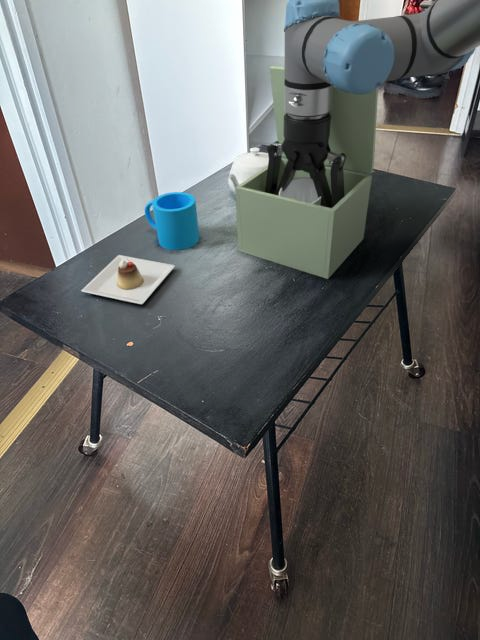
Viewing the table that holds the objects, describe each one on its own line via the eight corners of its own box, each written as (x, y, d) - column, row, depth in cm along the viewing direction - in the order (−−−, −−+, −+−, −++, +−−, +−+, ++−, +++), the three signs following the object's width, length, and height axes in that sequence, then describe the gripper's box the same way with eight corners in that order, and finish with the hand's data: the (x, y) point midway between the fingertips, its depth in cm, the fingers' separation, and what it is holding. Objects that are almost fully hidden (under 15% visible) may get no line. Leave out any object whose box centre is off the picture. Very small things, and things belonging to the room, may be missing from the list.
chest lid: (377, 78, 71) (391, 61, 73) (269, 67, 79) (286, 52, 82) (371, 174, 83) (384, 156, 86) (279, 155, 91) (293, 140, 94)
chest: (328, 279, 82) (334, 211, 74) (238, 251, 90) (235, 187, 82) (363, 239, 92) (372, 175, 83) (279, 217, 100) (280, 157, 92)
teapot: (256, 217, 100) (254, 171, 94) (207, 205, 106) (203, 160, 99) (298, 182, 113) (299, 138, 106) (253, 172, 118) (252, 131, 112)
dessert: (176, 270, 86) (172, 247, 83) (143, 309, 78) (138, 285, 74) (119, 259, 90) (114, 237, 87) (82, 296, 81) (74, 273, 78)
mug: (207, 235, 95) (203, 197, 90) (182, 254, 90) (177, 215, 85) (161, 221, 101) (155, 185, 95) (135, 239, 95) (127, 201, 90)
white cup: (333, 224, 91) (331, 181, 83) (315, 252, 87) (311, 210, 80) (296, 215, 94) (291, 173, 86) (278, 242, 91) (270, 201, 83)
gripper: (240, 111, 78) (245, 234, 92) (358, 129, 69) (343, 262, 83) (264, 98, 82) (265, 218, 97) (378, 114, 73) (360, 243, 88)
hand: (301, 238), depth 90 cm, fingers closed on white cup, 7 cm apart
